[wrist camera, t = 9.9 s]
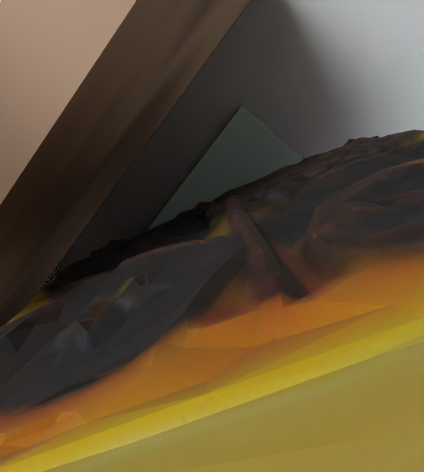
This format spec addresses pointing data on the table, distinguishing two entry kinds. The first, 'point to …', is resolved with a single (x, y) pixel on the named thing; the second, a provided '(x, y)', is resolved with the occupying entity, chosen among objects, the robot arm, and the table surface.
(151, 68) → the corner walls
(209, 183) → the mat
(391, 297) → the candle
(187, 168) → the table surface
